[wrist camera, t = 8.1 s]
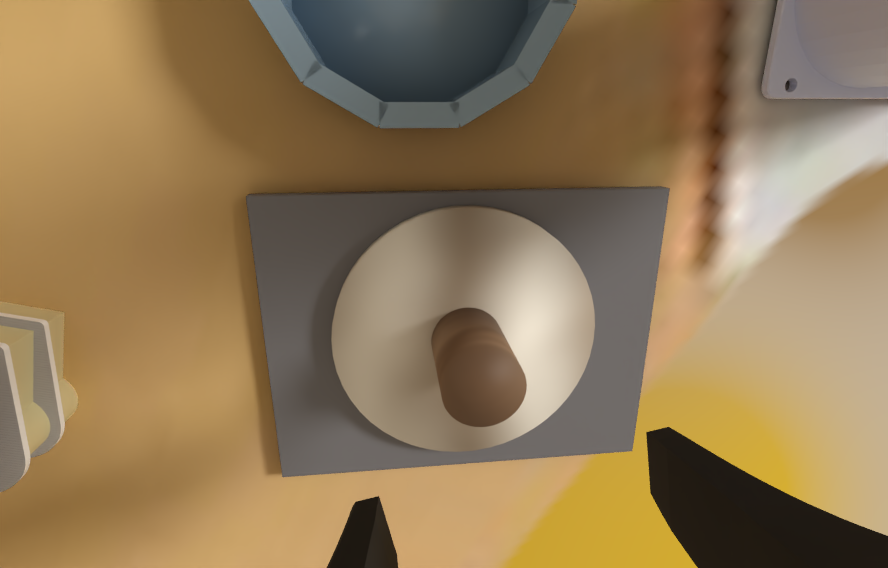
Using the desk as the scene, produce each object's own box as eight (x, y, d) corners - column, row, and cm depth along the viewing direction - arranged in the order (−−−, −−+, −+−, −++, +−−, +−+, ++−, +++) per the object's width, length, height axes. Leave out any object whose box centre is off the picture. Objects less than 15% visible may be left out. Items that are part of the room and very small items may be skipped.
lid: (572, 177, 20) (627, 196, 15) (599, 409, 24) (649, 478, 19) (299, 239, 20) (273, 277, 15) (371, 465, 23) (367, 549, 19)
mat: (662, 186, 21) (669, 188, 21) (626, 443, 25) (632, 450, 25) (249, 193, 19) (245, 196, 19) (284, 468, 24) (282, 477, 23)
